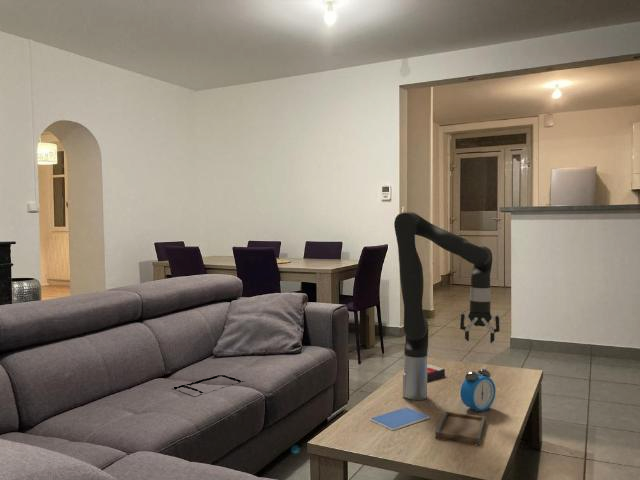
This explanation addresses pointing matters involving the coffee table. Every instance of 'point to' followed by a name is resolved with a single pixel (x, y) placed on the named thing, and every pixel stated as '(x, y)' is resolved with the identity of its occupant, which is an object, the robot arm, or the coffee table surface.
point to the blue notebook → (399, 418)
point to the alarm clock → (478, 390)
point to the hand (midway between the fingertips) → (479, 341)
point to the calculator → (434, 372)
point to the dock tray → (461, 428)
